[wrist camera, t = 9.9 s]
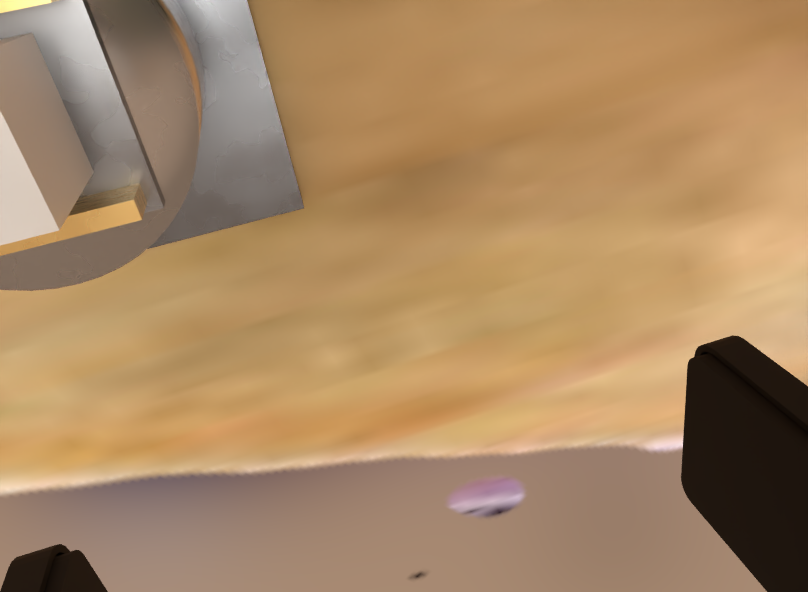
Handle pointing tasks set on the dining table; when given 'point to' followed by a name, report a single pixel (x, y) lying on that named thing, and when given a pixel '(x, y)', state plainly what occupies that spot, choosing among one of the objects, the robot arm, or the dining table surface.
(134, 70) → the cylinder on square plate
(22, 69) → the white block with knob
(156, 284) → the dining table surface
